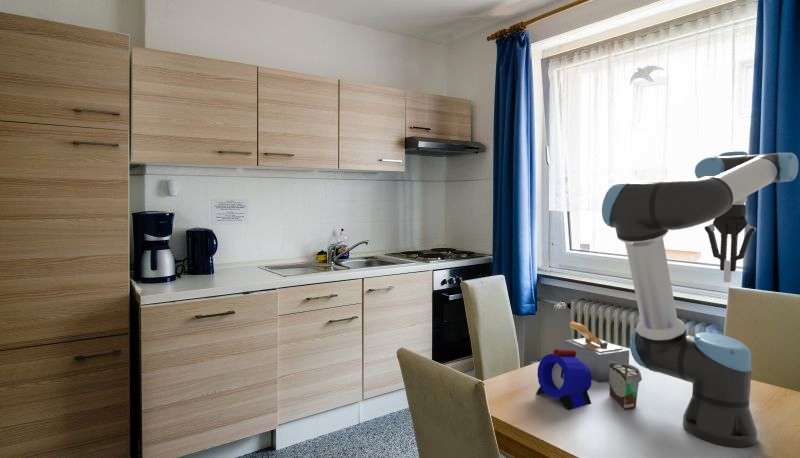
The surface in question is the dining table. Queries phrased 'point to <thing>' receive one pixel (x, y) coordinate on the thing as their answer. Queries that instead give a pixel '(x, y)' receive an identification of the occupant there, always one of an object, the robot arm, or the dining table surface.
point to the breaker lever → (585, 332)
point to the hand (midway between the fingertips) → (727, 281)
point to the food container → (624, 384)
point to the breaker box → (597, 356)
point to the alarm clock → (565, 378)
